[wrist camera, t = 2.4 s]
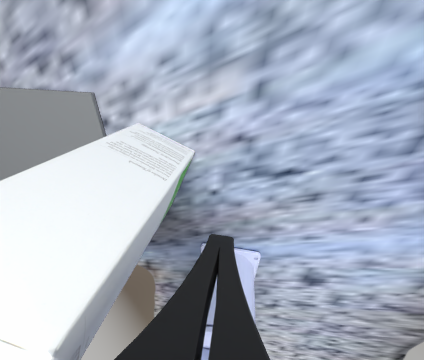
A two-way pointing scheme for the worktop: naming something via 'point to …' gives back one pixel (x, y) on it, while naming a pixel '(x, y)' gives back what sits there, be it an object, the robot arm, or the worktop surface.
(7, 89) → the charcoal rubber mat
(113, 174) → the skincare box
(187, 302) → the robot arm
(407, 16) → the worktop surface
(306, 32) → the worktop surface
